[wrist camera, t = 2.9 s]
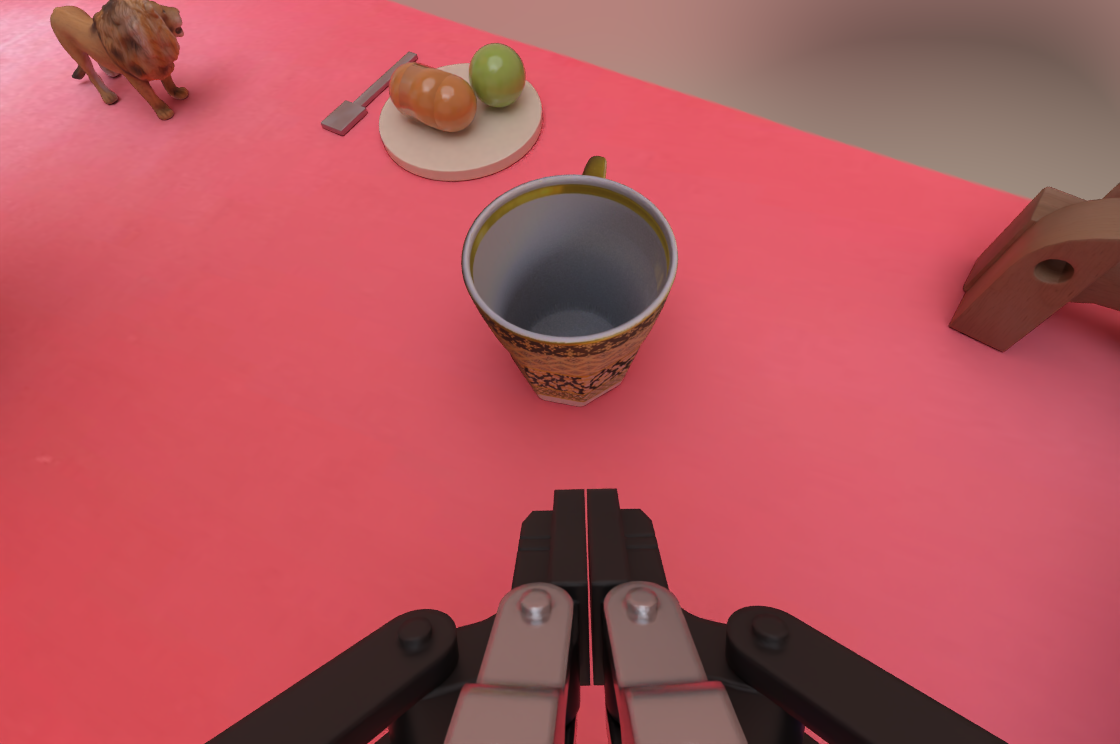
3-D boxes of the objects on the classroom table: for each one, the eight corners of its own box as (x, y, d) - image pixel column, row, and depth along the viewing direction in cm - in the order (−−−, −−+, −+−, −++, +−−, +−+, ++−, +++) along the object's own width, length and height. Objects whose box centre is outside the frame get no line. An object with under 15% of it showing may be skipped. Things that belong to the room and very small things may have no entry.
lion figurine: (236, 89, 49) (169, -24, 41) (201, 129, 46) (123, 17, 39) (97, 66, 51) (8, -45, 43) (57, 103, 49) (-44, -8, 41)
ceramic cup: (640, 448, 32) (661, 361, 23) (471, 415, 33) (431, 320, 24) (671, 270, 38) (697, 145, 29) (527, 247, 39) (510, 123, 30)
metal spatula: (343, 136, 45) (340, 131, 45) (322, 128, 46) (320, 122, 45) (424, 60, 50) (422, 54, 49) (404, 53, 50) (402, 48, 50)
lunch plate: (349, 148, 45) (321, 85, 40) (443, 58, 50) (428, -7, 45) (485, 203, 41) (472, 142, 36) (571, 100, 46) (570, 34, 42)
